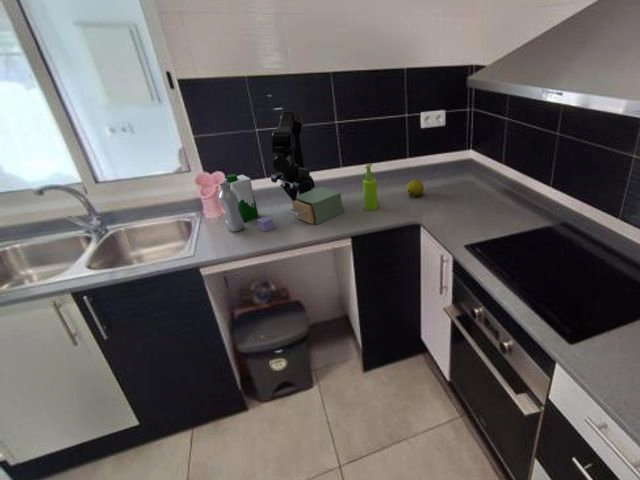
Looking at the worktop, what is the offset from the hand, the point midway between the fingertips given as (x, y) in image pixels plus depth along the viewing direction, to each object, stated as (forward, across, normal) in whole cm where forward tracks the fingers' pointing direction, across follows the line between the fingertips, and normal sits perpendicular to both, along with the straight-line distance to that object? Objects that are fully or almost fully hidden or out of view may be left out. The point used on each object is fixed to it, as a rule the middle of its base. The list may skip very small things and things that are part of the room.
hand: (294, 200), depth 155 cm
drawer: (+10, 0, -7) cm, 12 cm away
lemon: (+11, -21, -53) cm, 58 cm away
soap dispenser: (+11, -13, -31) cm, 35 cm away
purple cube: (+11, +8, +10) cm, 17 cm away
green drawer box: (+11, 0, -12) cm, 16 cm away
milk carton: (+11, +24, +9) cm, 28 cm away
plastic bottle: (+11, +17, +18) cm, 27 cm away
